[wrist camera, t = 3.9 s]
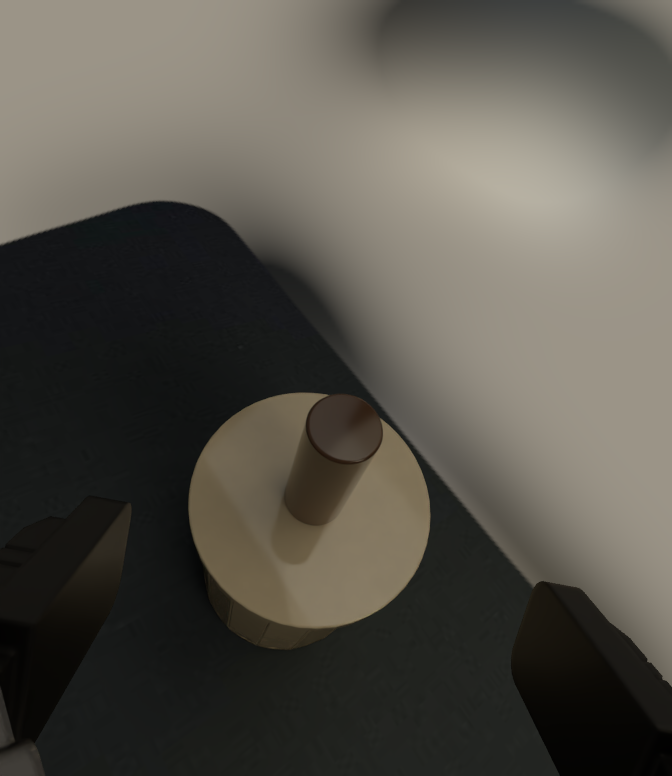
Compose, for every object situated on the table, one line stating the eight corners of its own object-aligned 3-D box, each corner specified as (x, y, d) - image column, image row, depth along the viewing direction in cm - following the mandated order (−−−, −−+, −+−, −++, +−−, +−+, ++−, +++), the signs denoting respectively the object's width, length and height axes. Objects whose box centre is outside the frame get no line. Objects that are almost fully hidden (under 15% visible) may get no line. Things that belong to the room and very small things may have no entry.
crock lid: (451, 473, 21) (530, 390, 15) (361, 686, 16) (429, 667, 11) (269, 372, 21) (288, 261, 16) (136, 549, 17) (105, 472, 12)
